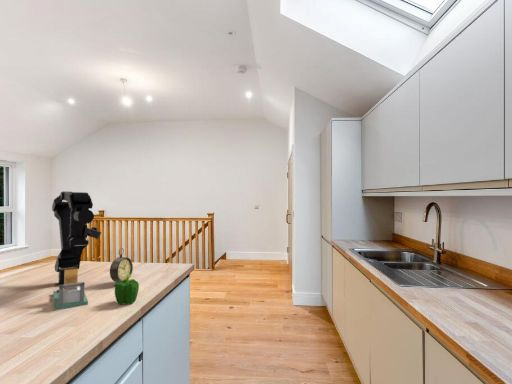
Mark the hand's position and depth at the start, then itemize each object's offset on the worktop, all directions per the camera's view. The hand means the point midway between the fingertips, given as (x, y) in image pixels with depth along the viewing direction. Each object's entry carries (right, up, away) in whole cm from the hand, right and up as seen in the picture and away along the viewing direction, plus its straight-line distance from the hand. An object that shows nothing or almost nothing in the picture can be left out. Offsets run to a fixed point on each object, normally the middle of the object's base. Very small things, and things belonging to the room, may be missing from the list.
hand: (77, 259), depth 120 cm
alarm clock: (+13, -14, +11) cm, 22 cm away
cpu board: (+3, -13, -10) cm, 16 cm away
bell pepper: (+26, -13, -12) cm, 32 cm away
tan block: (+7, -11, -14) cm, 19 cm away
